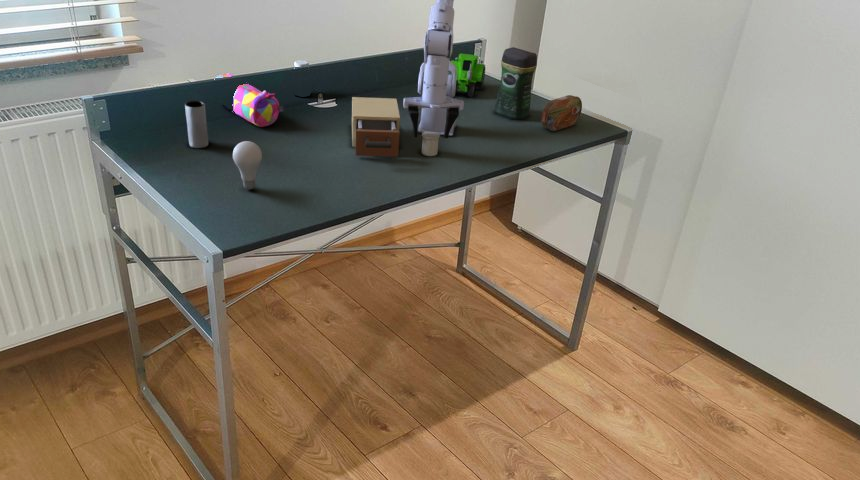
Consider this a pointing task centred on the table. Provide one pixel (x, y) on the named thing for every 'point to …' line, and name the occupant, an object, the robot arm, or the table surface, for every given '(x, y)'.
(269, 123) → the pencil case
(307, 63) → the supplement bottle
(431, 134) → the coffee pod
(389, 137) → the drawer
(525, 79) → the coffee jar
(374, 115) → the wooden drawer cabinet
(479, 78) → the toy tractor
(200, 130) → the planter
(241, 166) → the lightbulb
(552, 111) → the tin
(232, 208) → the table surface
